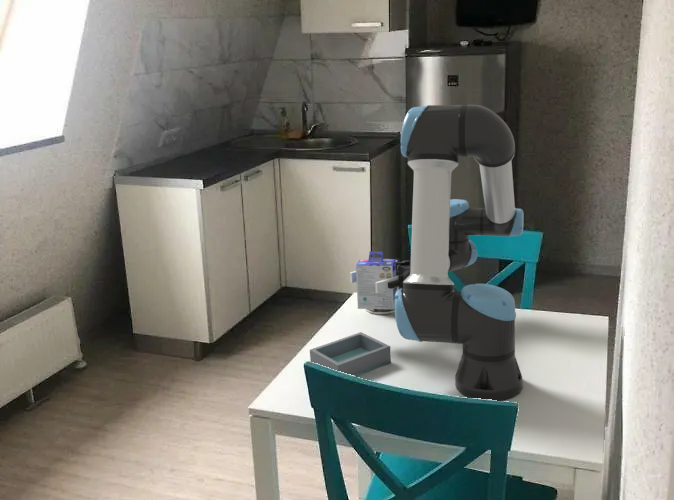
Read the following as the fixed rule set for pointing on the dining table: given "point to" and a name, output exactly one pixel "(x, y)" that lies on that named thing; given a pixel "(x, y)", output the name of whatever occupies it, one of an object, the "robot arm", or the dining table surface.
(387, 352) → the walled box
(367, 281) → the ink cartridge box
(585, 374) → the dining table surface
